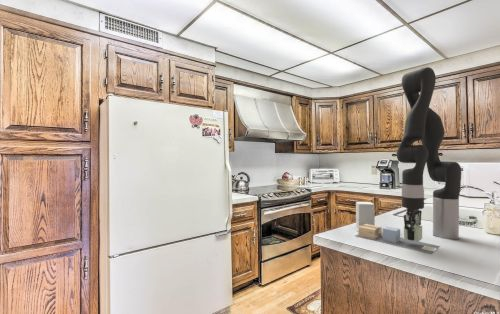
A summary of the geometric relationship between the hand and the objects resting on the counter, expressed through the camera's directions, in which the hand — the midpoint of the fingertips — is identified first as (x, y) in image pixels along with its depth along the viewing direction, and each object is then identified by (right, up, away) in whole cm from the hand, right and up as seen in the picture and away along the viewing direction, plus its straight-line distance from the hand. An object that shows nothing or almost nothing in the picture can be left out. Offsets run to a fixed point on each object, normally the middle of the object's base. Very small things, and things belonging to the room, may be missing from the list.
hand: (413, 238), depth 105 cm
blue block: (-6, -3, +6) cm, 8 cm away
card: (+3, -3, -4) cm, 6 cm away
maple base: (-12, -3, +12) cm, 17 cm away
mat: (-4, -3, +5) cm, 8 cm away
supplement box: (-8, -3, +26) cm, 27 cm away
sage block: (0, 0, 0) cm, 0 cm away
